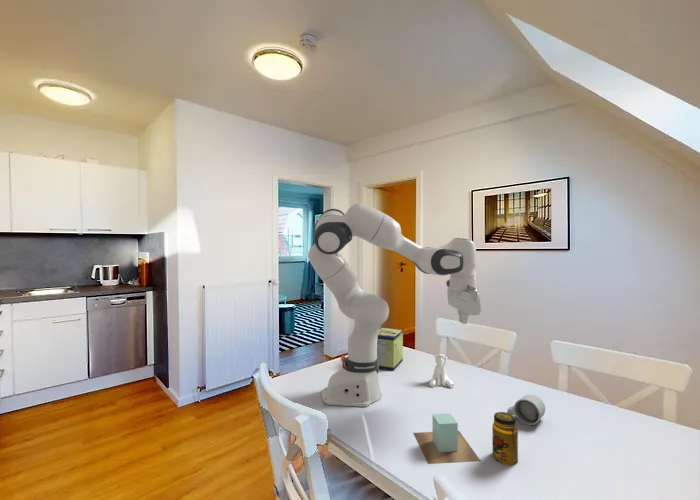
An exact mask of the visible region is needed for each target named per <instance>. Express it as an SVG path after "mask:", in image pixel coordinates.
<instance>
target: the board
mask: <svg viewBox="0 0 700 500" xmlns="http://www.w3.org/2000/svg"><path fill="white" fill-rule="evenodd" d="M413 435H414V438H415V439H416V442H417V444H418V446H419V448H420V450H421V452H422V454H423V456H424V459H425V461H426V463H427V464H428V465H432V464H434V465H435V464H450V463H454V464H455V463H470V462H473V463H475V462H481V461H482V460H481V459H480V458H479V456H478V455H477V454H476V452H475V451H474V449H473V448H472V447H471V445H470V444H469V442H468V441H467V439H466V438H465V437H464V436H463V434H462V433H461V432H460V430H458V451H450V452H438V450H437V448H436V446H435V444H434V442H433V431H424V432H421V431H419V432H413Z"/></svg>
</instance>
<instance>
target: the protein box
mask: <svg viewBox="0 0 700 500" xmlns="http://www.w3.org/2000/svg"><path fill="white" fill-rule="evenodd" d="M403 331H404V330H403V329H401V328H400V329H399V328H390V327H382V328H380V330H379V333H378V338H377V358H378V364H379V369H380V370H385V371H386V370H387V371H392V372H394V371H395V370H396V369H397V368H398V367H399V366H400V364H401V363H402V362H403V355H404V354H403V352H404V351H403V347H404V346H403V345H404V344H403V343H404V338H403V337H404V336H403V335H404V333H403ZM379 369H378V370H379Z"/></svg>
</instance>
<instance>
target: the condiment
mask: <svg viewBox="0 0 700 500" xmlns="http://www.w3.org/2000/svg"><path fill="white" fill-rule="evenodd" d="M516 418H517V417H516V416H515V415H511V414H509V413H508V412H504V411H498V412H495V413H494V415H493V423H492V425H491V426H492V429H491V430H492V447H491V448H492V457H493V459H494V460H495V461H496V462H498V463H500V464H502V465H505V466H515V465H517V464H518V462H519V445H518V444H519V443H518V442H519V440H518V439H519V437H518V436H519V431H518V427H517V419H516Z"/></svg>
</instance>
